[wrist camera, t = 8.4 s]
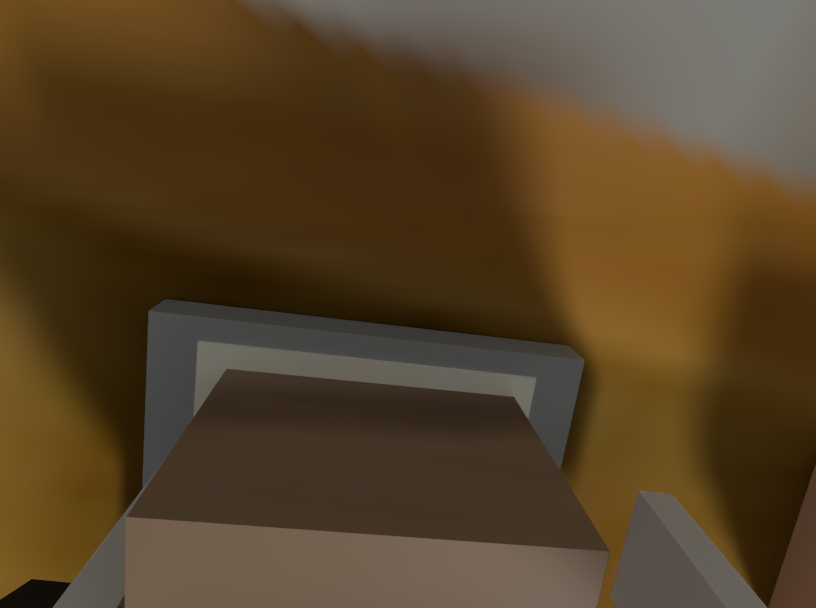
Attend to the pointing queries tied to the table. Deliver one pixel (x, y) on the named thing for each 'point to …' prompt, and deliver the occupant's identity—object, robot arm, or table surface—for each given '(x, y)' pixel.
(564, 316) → the table surface
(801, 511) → the terracotta cube
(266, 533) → the walnut block
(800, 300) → the table surface
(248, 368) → the slate picture frame
